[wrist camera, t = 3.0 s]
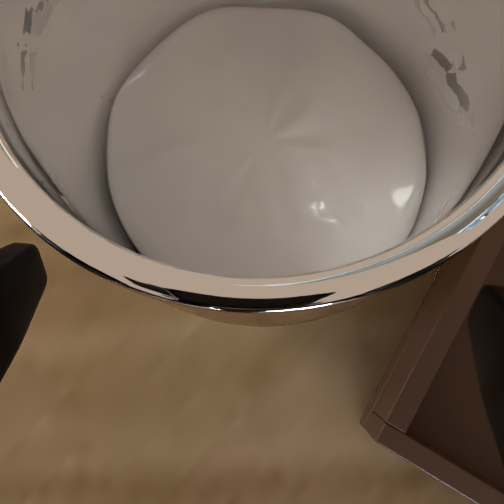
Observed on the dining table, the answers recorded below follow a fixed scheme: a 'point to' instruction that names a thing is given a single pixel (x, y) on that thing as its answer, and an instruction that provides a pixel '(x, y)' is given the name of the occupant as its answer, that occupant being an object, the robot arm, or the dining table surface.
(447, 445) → the tray
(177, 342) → the dining table surface
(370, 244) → the beer glass
